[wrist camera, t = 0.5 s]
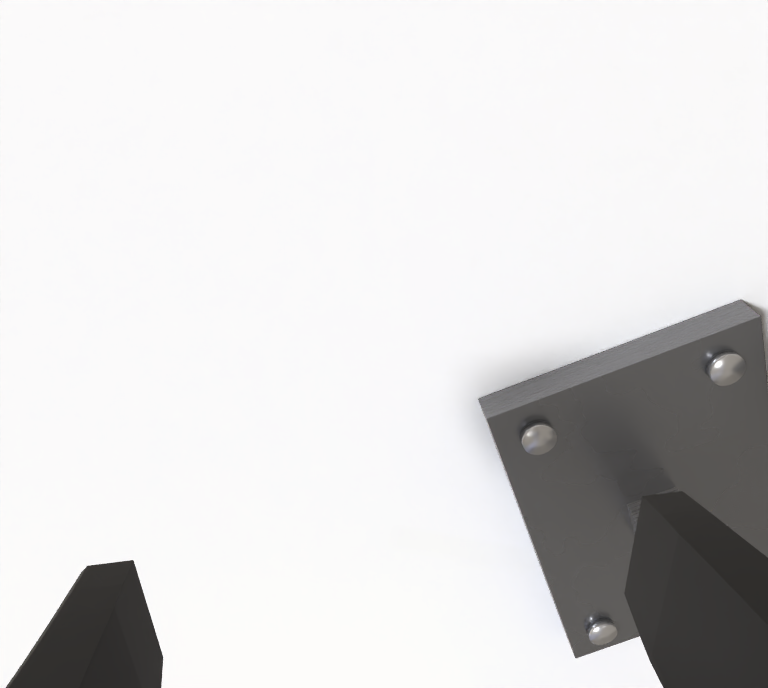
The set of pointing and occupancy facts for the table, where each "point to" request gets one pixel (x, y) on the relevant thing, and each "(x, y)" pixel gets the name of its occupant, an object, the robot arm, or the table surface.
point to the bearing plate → (634, 455)
